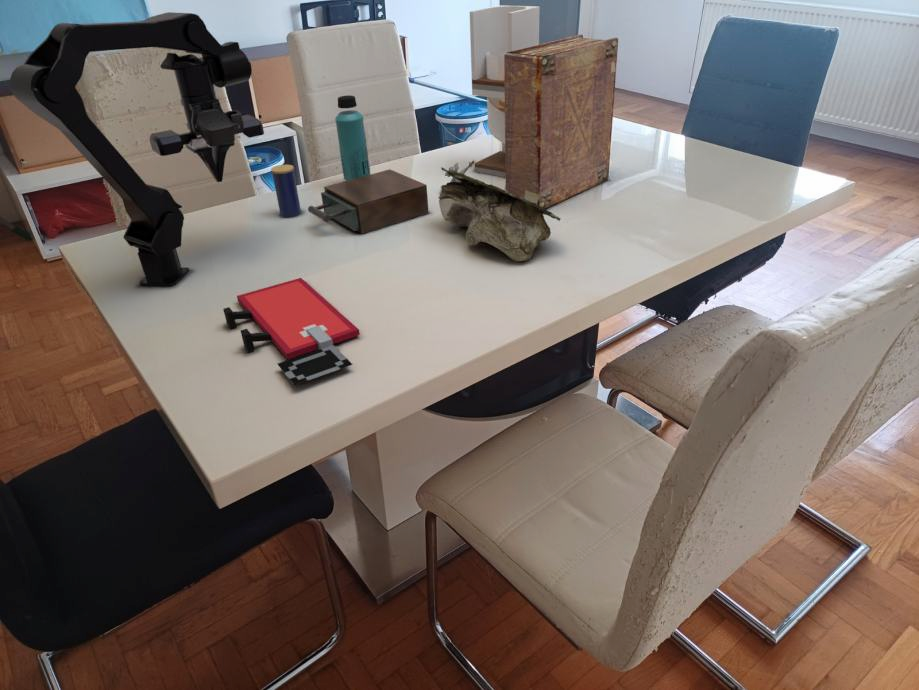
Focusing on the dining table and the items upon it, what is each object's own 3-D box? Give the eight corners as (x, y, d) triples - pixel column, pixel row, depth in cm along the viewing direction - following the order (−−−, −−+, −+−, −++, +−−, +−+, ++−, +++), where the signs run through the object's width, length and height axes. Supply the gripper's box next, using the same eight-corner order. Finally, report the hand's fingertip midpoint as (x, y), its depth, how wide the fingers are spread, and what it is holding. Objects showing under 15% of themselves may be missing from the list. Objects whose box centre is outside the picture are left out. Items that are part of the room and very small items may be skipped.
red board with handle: (282, 396, 88) (383, 359, 95) (278, 378, 87) (381, 342, 94) (215, 310, 110) (302, 285, 117) (211, 294, 108) (299, 270, 115)
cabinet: (361, 234, 134) (357, 204, 130) (328, 215, 143) (323, 186, 140) (428, 213, 142) (426, 184, 138) (392, 196, 151) (390, 169, 148)
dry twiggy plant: (449, 204, 146) (429, 179, 151) (462, 216, 151) (443, 192, 156) (483, 171, 144) (462, 147, 148) (495, 184, 149) (475, 161, 153)
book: (575, 172, 160) (582, 34, 144) (608, 180, 154) (619, 37, 138) (505, 203, 145) (503, 52, 129) (539, 212, 139) (541, 56, 123)
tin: (297, 217, 143) (289, 171, 137) (276, 217, 143) (267, 171, 138) (304, 209, 147) (296, 164, 141) (284, 209, 147) (275, 164, 142)
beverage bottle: (367, 189, 156) (356, 99, 145) (339, 188, 157) (327, 99, 147) (375, 180, 161) (365, 93, 151) (349, 179, 163) (337, 93, 152)
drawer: (333, 237, 131) (329, 215, 128) (303, 219, 140) (299, 198, 137) (418, 211, 141) (416, 190, 138) (385, 195, 150) (383, 175, 147)
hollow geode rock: (449, 239, 141) (400, 201, 131) (483, 188, 141) (437, 146, 130) (534, 284, 120) (484, 242, 110) (574, 224, 120) (528, 177, 110)
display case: (500, 158, 171) (498, 5, 152) (536, 165, 166) (539, 6, 147) (474, 171, 163) (469, 11, 145) (511, 178, 158) (511, 13, 139)
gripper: (156, 111, 106) (182, 205, 114) (267, 90, 115) (284, 180, 124) (137, 100, 114) (163, 189, 122) (242, 82, 123) (260, 166, 131)
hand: (219, 181), depth 124 cm, fingers closed
